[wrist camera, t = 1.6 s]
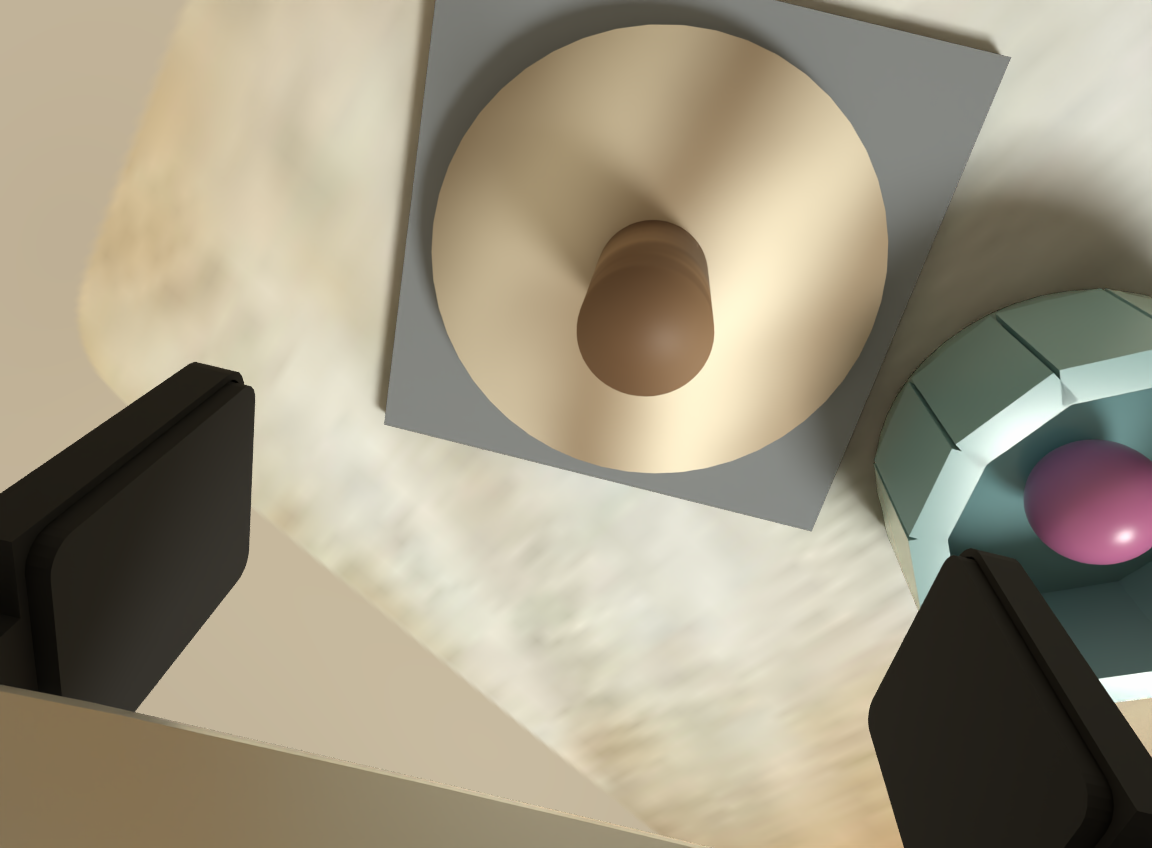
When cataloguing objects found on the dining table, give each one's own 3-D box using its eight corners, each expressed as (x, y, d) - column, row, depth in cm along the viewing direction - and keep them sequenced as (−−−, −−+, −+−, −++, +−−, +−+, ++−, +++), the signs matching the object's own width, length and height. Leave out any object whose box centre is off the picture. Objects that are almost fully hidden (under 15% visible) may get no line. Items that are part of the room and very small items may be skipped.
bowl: (1330, 340, 23) (1484, 412, 19) (1133, 628, 28) (1218, 740, 24) (959, 249, 23) (1025, 299, 19) (826, 552, 28) (854, 648, 24)
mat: (1002, 57, 21) (1010, 57, 21) (809, 521, 28) (811, 531, 27) (451, -77, 21) (445, -80, 21) (390, 416, 28) (384, 424, 28)
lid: (956, 88, 21) (1049, 106, 16) (793, 499, 27) (820, 614, 22) (475, -27, 21) (406, -48, 16) (416, 406, 27) (351, 498, 22)
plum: (1155, 435, 24) (1229, 497, 21) (1095, 532, 26) (1155, 603, 22) (1038, 406, 24) (1092, 462, 21) (985, 505, 26) (1028, 572, 23)
